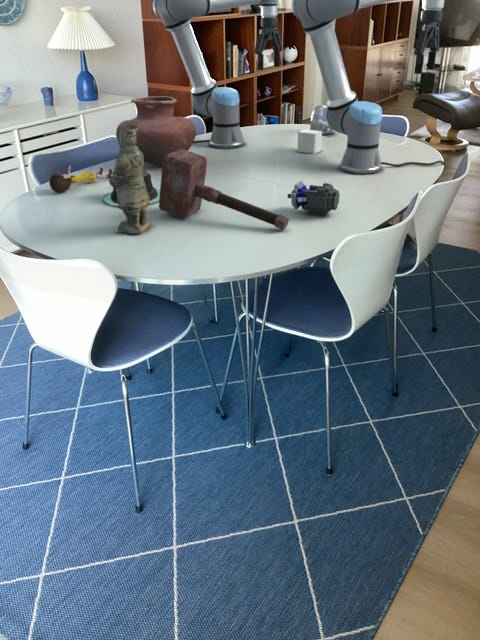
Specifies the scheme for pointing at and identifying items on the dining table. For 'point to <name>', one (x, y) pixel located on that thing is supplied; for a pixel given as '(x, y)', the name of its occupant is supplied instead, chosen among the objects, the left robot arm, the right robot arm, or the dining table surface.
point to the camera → (320, 122)
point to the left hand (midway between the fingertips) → (268, 68)
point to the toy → (315, 198)
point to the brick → (309, 141)
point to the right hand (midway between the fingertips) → (424, 71)
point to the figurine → (74, 179)
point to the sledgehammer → (200, 190)
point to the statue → (131, 182)
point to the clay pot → (160, 128)
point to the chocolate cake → (152, 192)
